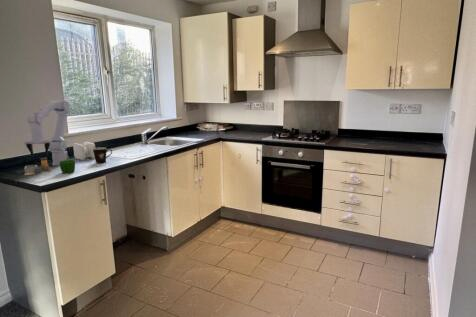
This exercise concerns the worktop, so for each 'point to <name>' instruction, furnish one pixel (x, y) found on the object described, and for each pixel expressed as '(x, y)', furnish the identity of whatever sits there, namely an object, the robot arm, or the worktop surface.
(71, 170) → the bell pepper
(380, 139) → the worktop surface
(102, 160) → the coffee mug
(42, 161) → the connector plug
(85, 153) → the white lumpy block
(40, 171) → the clip
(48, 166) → the clip
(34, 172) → the board
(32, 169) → the end holder
